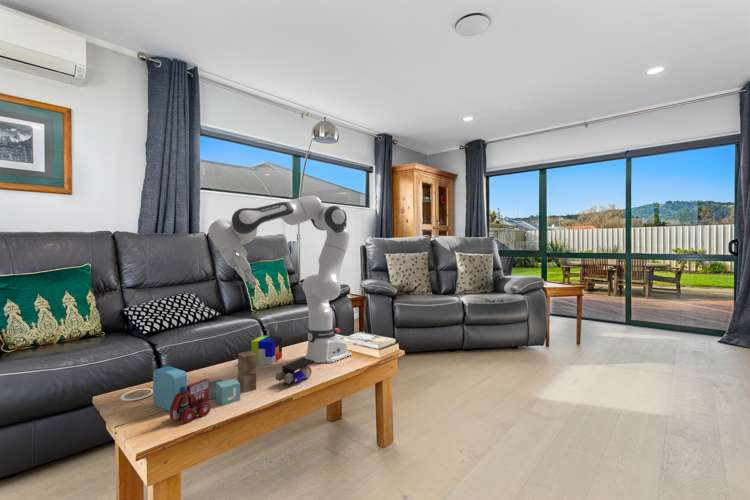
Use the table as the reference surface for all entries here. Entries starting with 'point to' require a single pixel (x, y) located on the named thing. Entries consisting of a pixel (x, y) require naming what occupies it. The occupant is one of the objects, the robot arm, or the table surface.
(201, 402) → the toy fire truck
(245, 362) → the walnut block
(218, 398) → the letter cube
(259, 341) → the puzzle toy
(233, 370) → the table surface
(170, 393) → the data package
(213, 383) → the mat
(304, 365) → the toy car
